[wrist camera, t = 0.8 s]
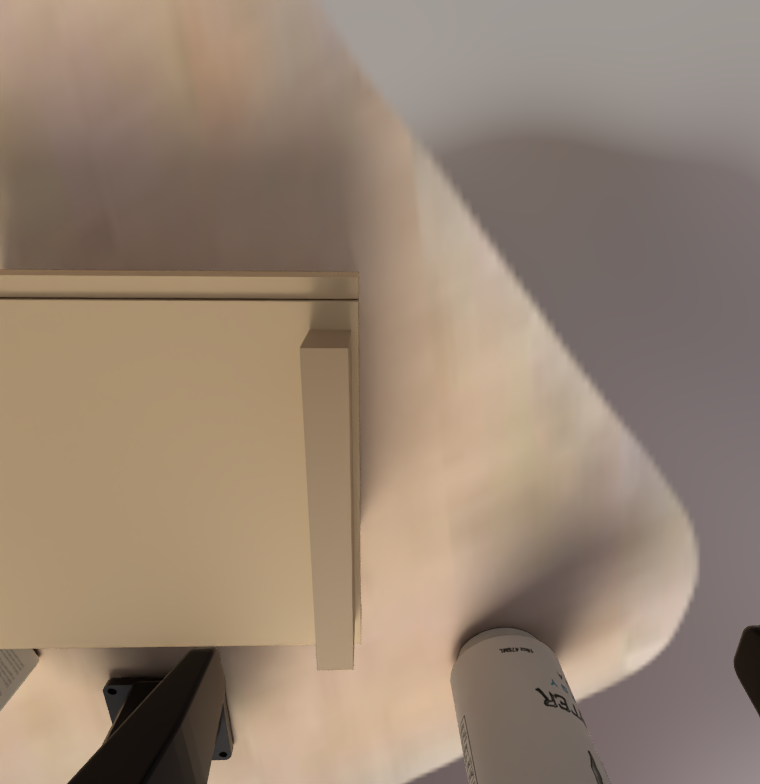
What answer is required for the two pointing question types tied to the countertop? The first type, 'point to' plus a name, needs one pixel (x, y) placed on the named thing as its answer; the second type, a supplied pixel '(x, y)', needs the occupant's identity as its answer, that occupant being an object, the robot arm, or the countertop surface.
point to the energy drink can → (519, 714)
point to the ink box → (14, 671)
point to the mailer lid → (180, 460)
